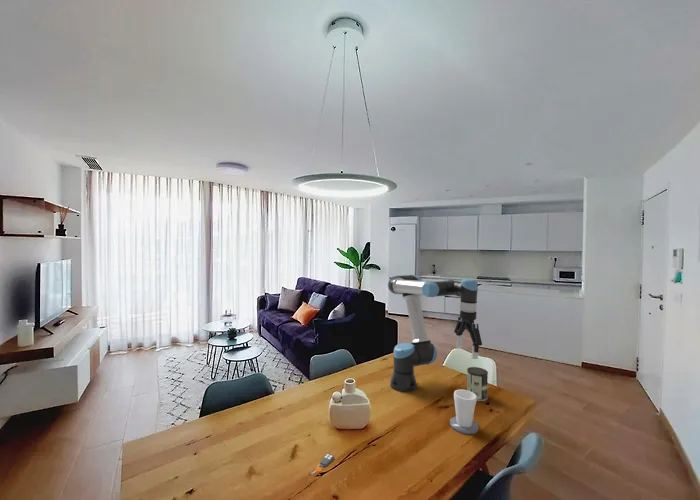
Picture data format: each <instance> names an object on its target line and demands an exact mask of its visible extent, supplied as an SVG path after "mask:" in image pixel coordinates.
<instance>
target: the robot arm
mask: <svg viewBox="0 0 700 500" xmlns="http://www.w3.org/2000/svg"><path fill="white" fill-rule="evenodd" d="M478 287H479V286H478V280H476V279H474V278H463V279H461V280H460V281H459V280H454V279H445V280H444V281H443V280H441V281H440V280H439V281H432V280H431V281H429V280H422V278H421V277H420V276H419V275H414V274H408V275H406V274H404V275H394V276H392V277H391V278H390V279H389V280H388V283H387V288H388V290H389V291H390V292H391V294H394V295H402V298H403V300H405V302H406V309H407V314H408V318H409V319H408V320H409V325H410V331H411V336H412V340H411V341H410V342H406V343H405V342H402V343H398V344H396V345H395V346H394V348H393V353H392V354H393V372H392V375H391V379H390V380H389V381H390V382H389V385H390V387H391V388H392V389H393V390H395V391H399V392H413V391H415V390H417V388H418V383H417V382H418V381H417V379H416V375H415V367H419V366H425V365H426V366H427V365H430V364H432V363H434V362H435V361H436V359H437V357H438V356H437V355H438V350H437V347H436V346H435V344H434V343H433V342H431V339H430V338H429V337H428V336H427V329H426V325H425V319H424V314H423V309H422V304H421V297H422V296H425V297H427V298H434V297H449V296H456V297H460V305H459V309H460V310H459V311H460V312H459V316H458V317H457V323H456V325H455V328H454V331H453V332H454V334H455V335H456V349H457V350H459V349H463V333H464V332H465V330H466V331H467V332H468V333H469V336H470V338H471V341H472V345H471V346H472V347H471V360H476V359H479V351H480V350H479V347H480V346H483V342H482V337H481V334H480V333H481V332H480V329H479V323H475V320H477V310H478V309H477V307H478V304H477V303H478V290H479V288H478Z"/></svg>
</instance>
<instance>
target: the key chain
mask: <svg viewBox="0 0 700 500" xmlns="http://www.w3.org/2000/svg"><path fill="white" fill-rule="evenodd" d="M334 459H335V456H334V455H333V454H332V453H326V454H325V455H324V457H323V458H322V459H321V460H320V462H319V464H317V466H316V467H315V470H313V471H312V472H310V474H311V475H313V474H315V473H316V472H318V473H320V472H322V469H323V468H325V467H327V466H328V465H330V464H331V462H332V461H333V460H334Z"/></svg>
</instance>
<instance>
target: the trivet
mask: <svg viewBox="0 0 700 500" xmlns="http://www.w3.org/2000/svg"><path fill="white" fill-rule="evenodd" d="M449 426H450V427H451V428H452V430H454V431H456V432H458V433H460V434H463V435H475V434H477V433H478V432H479V424H478V423H477V422H476V420H474V419H473V421H472V425H471V427H462V426H460V425H459V424H457V420H456V415H455V416H453V417H451V418H450V419H449Z"/></svg>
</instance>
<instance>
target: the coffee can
mask: <svg viewBox="0 0 700 500" xmlns="http://www.w3.org/2000/svg"><path fill="white" fill-rule="evenodd" d="M466 372H467V373H466V375H467V377H466V378H467V379H466V381H467V383H466V384H467V386H466V387H467V388H466V390H468V391H471V392H473V393H474V394H475V395H476V396H477V399H476V402H485V401H488V378H489V377H488V375H489V372H488V371H487V370H486V369H485V368H482V367H477V366H472V367H471V366H470V367H467V369H466Z"/></svg>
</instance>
